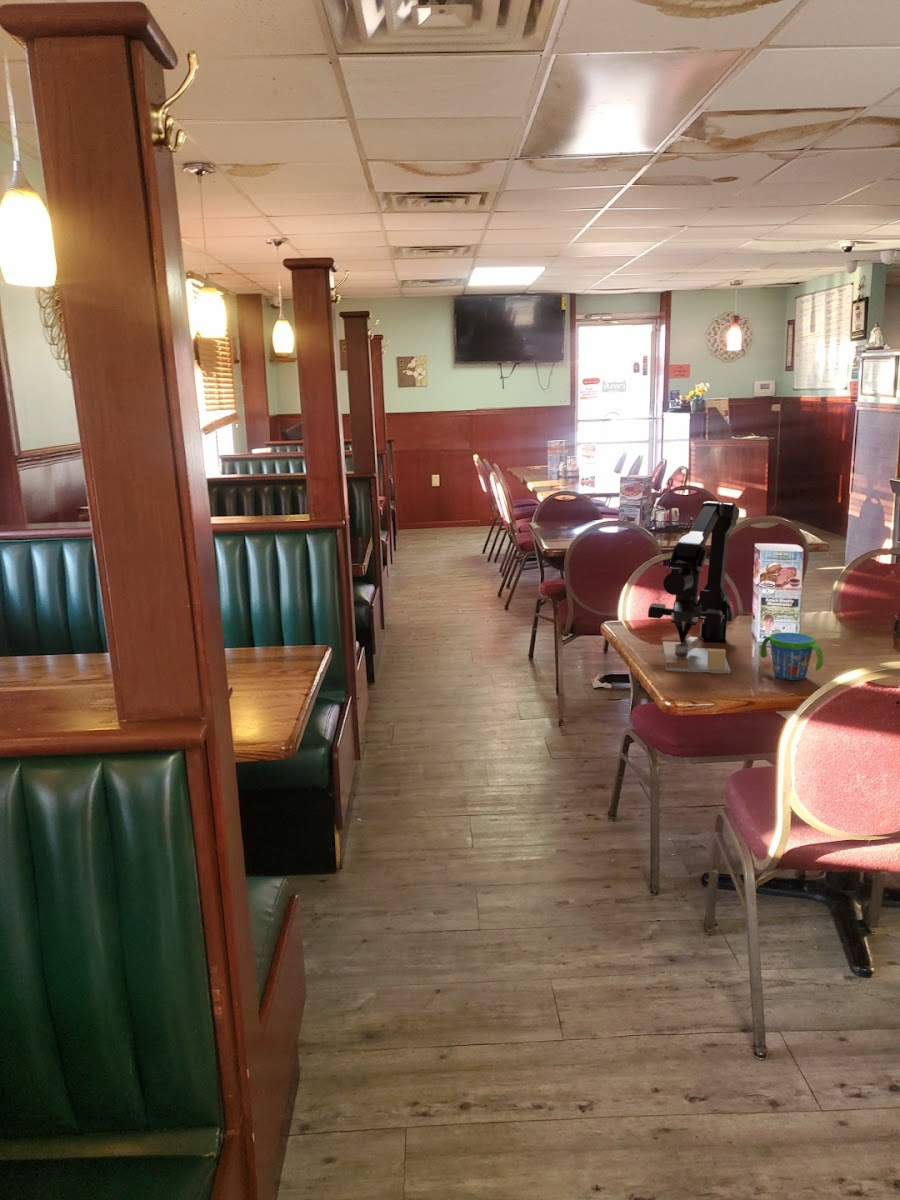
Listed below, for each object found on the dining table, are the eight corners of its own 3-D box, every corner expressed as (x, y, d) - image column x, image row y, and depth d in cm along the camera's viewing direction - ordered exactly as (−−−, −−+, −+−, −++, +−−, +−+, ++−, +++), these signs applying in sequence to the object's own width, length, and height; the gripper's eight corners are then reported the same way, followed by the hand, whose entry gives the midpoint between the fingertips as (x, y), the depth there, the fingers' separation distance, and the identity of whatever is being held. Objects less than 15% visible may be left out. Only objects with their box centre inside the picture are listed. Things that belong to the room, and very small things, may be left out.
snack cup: (749, 672, 215) (752, 633, 213) (776, 665, 221) (779, 627, 218) (803, 688, 202) (806, 647, 200) (830, 681, 208) (834, 641, 205)
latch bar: (685, 657, 218) (686, 647, 217) (673, 655, 219) (673, 646, 219) (699, 644, 228) (699, 635, 228) (687, 643, 230) (688, 634, 230)
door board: (722, 651, 233) (723, 632, 232) (730, 673, 214) (732, 652, 213) (662, 649, 236) (663, 630, 235) (665, 670, 217) (666, 649, 216)
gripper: (647, 591, 220) (642, 648, 223) (723, 598, 213) (716, 657, 217) (653, 582, 230) (648, 637, 233) (725, 589, 224) (718, 646, 227)
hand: (682, 644), depth 228 cm, fingers closed
